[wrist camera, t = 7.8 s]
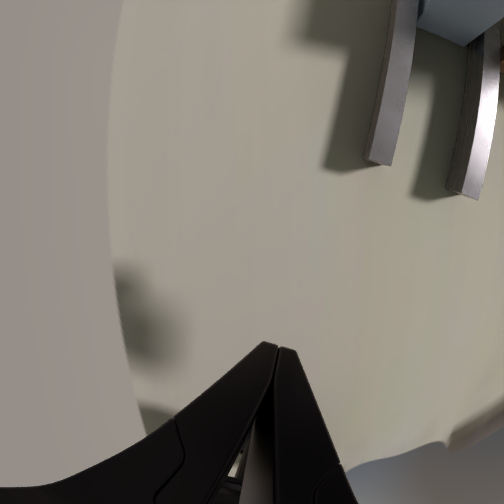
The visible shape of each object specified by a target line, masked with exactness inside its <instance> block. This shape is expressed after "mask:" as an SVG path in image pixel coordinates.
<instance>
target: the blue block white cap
mask: <svg viewBox="0 0 504 504" xmlns="http://www.w3.org/2000/svg"><path fill="white" fill-rule="evenodd" d="M503 17H504V0H419V3H418V15H417V26H416V27H418V28H421V29H423V30H426V31H428V32H431V33H433V34H436V35H438V36H440V37H443V38H445V39H447V40H449V41H451V42H454V43H456V44H458V45H460V46H462V47H464V46H465V45H467V44H468V43H469V42H471V41H472V40H473V39H475V38H476V37H477V36H479V35H480V34H482V33H483V32H484V31H486V30H487V29H488V28H490V27H491V26H492V25H494V24H495V23H497V22H498V21H499V20H501V19H502V18H503Z"/></svg>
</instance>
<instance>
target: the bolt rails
mask: <svg viewBox="0 0 504 504" xmlns="http://www.w3.org/2000/svg"><path fill="white" fill-rule="evenodd" d="M418 3H419V0H392V5H391V13H390V21H389V28H388V35H387V41H386V48H385V54H384V60H383V65H382V71H381V76H380V82H379V87H378V92H377V97H376V102H375V107H374V111H373V116H372V121H371V125H370V130H369V134H368V138H367V142H366V147H365V151H364V155H363V159H364V160H368V161H371V162H374V163H377V164H380V165H385V166H391V164H392V160H393V156H394V152H395V147H396V143H397V139H398V134H399V130H400V125H401V120H402V116H403V111H404V106H405V100H406V95H407V89H408V84H409V78H410V71H411V65H412V58H413V51H414V43H415V35H416V26H417V15H418ZM500 55H501V31H500V20H499V21H498V22H497V23H495V24H494V25H492V26H491V27H490V28H488V29H487V30H486V31H484V32H483V33H482V34H480V35H479V36H477V37H476V38H475V39H473V40H472V41H471V42H469V49H468V63H467V74H466V83H465V91H464V99H463V106H462V112H461V118H460V124H459V129H458V135H457V140H456V145H455V149H454V154H453V158H452V163H451V167H450V171H449V175H448V179H447V183H446V187H445V188H446V189H448V190H451V191H453V192H456V193H458V194H460V195H463V196H466V197H469V198H472V199H475V200H478V199H479V196H480V192H481V188H482V184H483V180H484V176H485V172H486V167H487V163H488V158H489V153H490V148H491V142H492V137H493V131H494V124H495V117H496V109H497V101H498V91H499V78H500Z"/></svg>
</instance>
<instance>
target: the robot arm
mask: <svg viewBox="0 0 504 504" xmlns="http://www.w3.org/2000/svg"><path fill="white" fill-rule="evenodd" d="M239 453H240V454H242V457H241V460H240V463H239V466H238V468H237V471H236V474H235V477H230V476H228V474H229V472H230V470H231V468H232V466H233V464H234V462H235V460H236V458H237V456H238V454H239ZM339 463H340V460H339V457H338V455H337V452H336V450H335V447H334V445H333V442H332V439H331V437H330V434H329V432H328V429H327V427H326V424H325V422H324V419H323V417H322V414H321V412H320V409H319V407H318V404H317V402H316V399H315V397H314V394H313V392H312V389H311V387H310V384H309V382H308V379H307V377H306V374H305V372H304V369H303V367H302V364H301V362H300V359H299V357H298V354H297V352H296V351H295V350H293V349H290V348H286V347H283V346H281V347H278V345H276V344H272V343H269V342H266V341H263V342H261V343H260V344H259V345H258V346H256V347H255V348H254V349H253V350H252V351H251V352H250V353H249V354H248V355H246V356H245V357H244V358H243V359H242V360H241V361H240V362H238V363H237V364H236V365H235V366H234V367H233V368H232V369H230V370H229V371H228V372H227V373H226V374H225V375H223V376H222V377H221V378H220V379H219V380H218V381H216V382H215V383H214V384H213V385H212V386H210V387H209V388H208V389H207V390H206V391H204V392H203V393H202V394H201V395H200V396H198V397H197V398H196V399H195V400H194V401H192V402H191V403H190V404H189V405H187V406H186V407H185V408H184V409H182V410H181V411H180V412H179V413H177V414H176V415H175V416H174V418H173V419H172V418H171V419H170V420H168V421H167V422H166V423H164V424H163V425H162V426H161V427H159V428H158V429H157V430H155V431H154V432H152V433H151V434H149V435H148V436H147V437H145V438H144V439H142V440H141V441H139V442H137V443H136V444H134V445H132V446H131V447H129V448H127V449H125V450H124V451H122V452H120V453H118V454H116V455H115V456H112V457H111V458H109V459H106V460H104V461H102V462H100V463H99V464H96V465H94V466H92V467H90V468H88V469H86V470H84V471H82V472H79V473H77V474H75V475H73V476H71V477H68V478H66V479H63V480H60V481H57V482H55V483H51V484H47V485H41V486H33V487H0V504H358V502H357V500H356V498H355V496H354V493H353V491H352V489H351V486H350V484H349V482H348V480H347V477H346V475H345V472H344V469H343V467H342V465H341V464H339ZM338 464H339V465H338Z"/></svg>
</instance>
